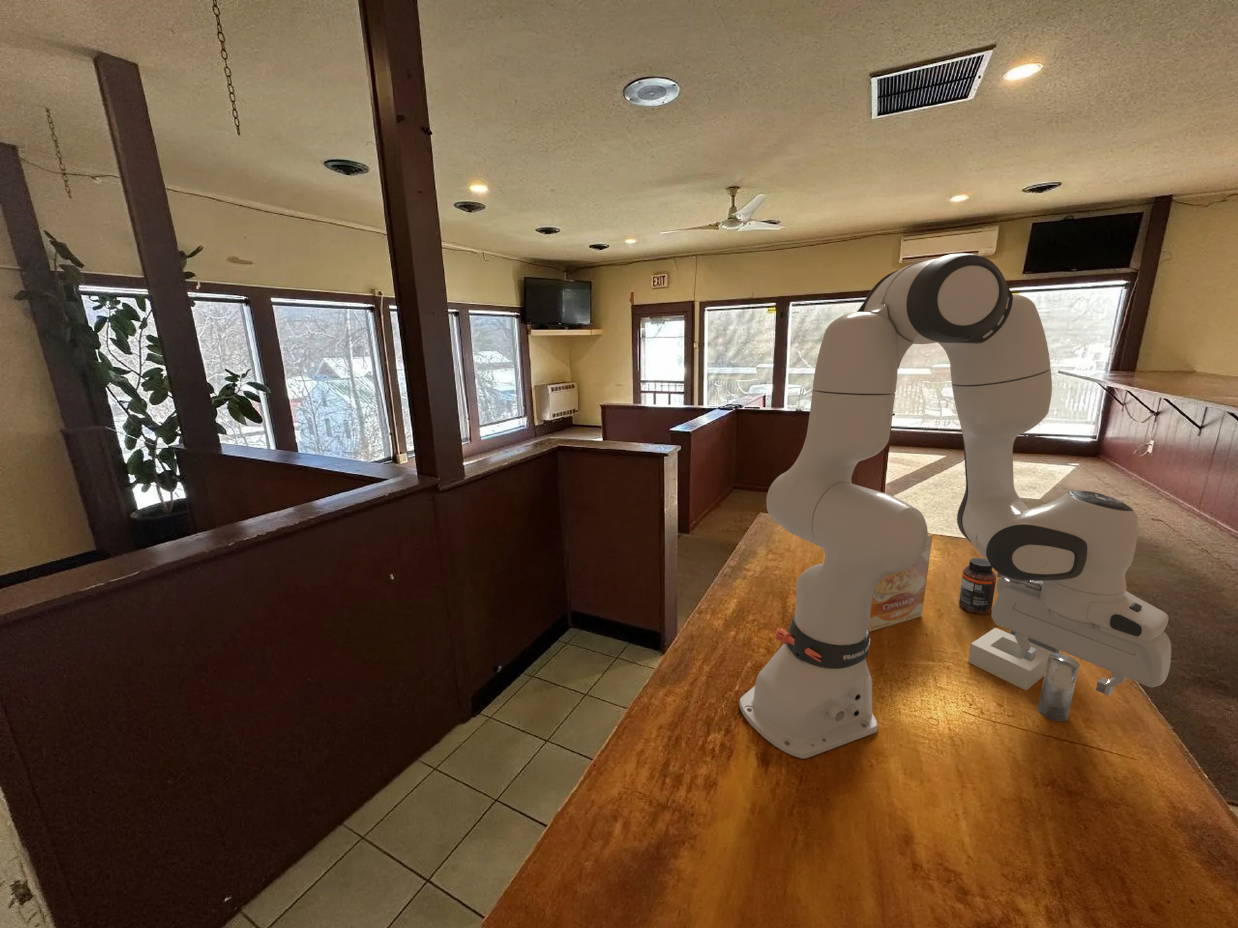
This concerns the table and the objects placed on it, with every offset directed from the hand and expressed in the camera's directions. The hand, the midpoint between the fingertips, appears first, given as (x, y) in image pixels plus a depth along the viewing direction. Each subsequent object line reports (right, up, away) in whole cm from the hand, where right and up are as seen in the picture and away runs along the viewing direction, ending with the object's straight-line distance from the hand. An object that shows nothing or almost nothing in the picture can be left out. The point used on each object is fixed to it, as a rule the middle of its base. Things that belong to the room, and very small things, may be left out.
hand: (1063, 673), depth 76 cm
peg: (0, -7, +2) cm, 7 cm away
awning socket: (+4, -3, +14) cm, 15 cm away
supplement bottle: (+9, +1, +31) cm, 32 cm away
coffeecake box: (-12, 0, +30) cm, 32 cm away
